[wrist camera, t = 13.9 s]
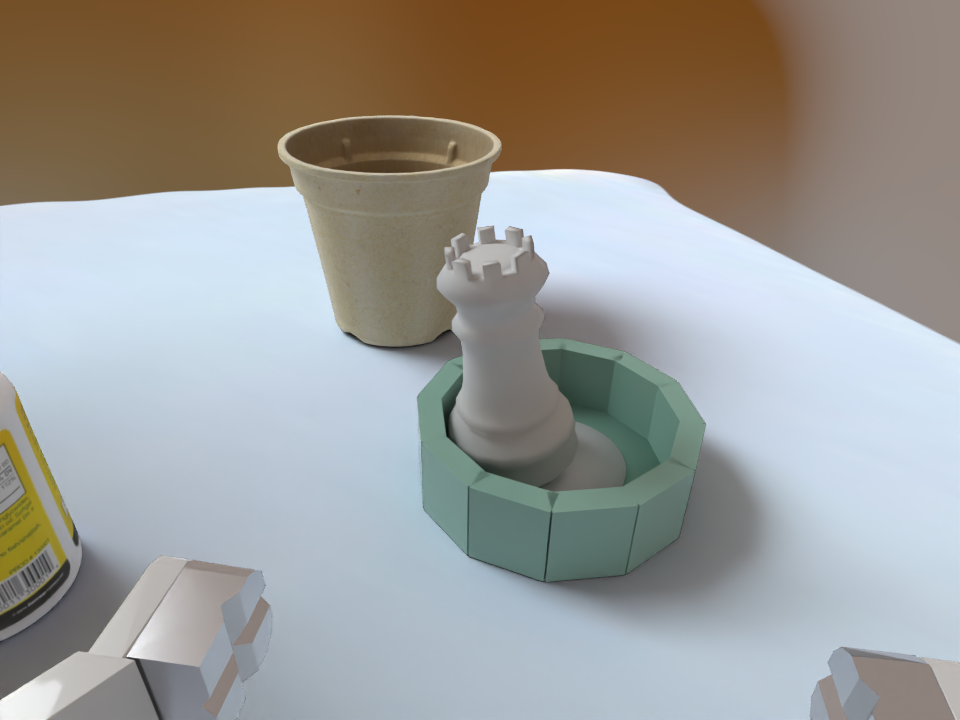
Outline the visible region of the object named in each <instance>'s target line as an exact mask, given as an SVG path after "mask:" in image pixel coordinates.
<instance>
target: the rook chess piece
mask: <svg viewBox="0 0 960 720" xmlns="http://www.w3.org/2000/svg"><path fill="white" fill-rule="evenodd" d="M477 229H478V237H479V242H478V243H475V244H472V245H469V239H468V235H466V234H464V233H461V234H459V235H457V236H456V237H454V238H452V239H451V245H452V247H444V251H445V260H446V264H445V265H444V267H443V269H442V270H441V272H440V273H439V275H438V277H437V289H438V290H439V291H440V293H441V294H442V295H443V296H444V297H445V298H446V299H448V300H449V301H450V302H451V303H452V304H454V305H455V306H456V309H457V314H456V315H455V317H454V318H453V320H452V331H453V332H454V333H455V335H456V336H457V337H458V338H459V339H460V340H461V345H462V351H463V383H462V388H461V390H460V392H459V394H458V396H457V397H456V404H455V406H454V408H453V409H452V411H451V413H450V415H449V420H448V439H450V440H451V441H452V442H453V443H454V444H455V445H456V446H457V447H459V448H460V449H461V450H462V451H463V452H464V453H465V454H466V455H467V456H469V457H470V458H471V459H472V460H473V461H474V462H475V463H476V464H478V465H479V466H480V467H481V468H482V469H483V470H484V471H485V472H487V473H491V474H494V475H498V476H501V477H504V478H508V479H511V480H514V481H518V482H521V483H525V484H528V485H531V486H535V487H538V488H540V487H542V486H544V485H547V484H549V483H551V482H552V481H553V480H554V479H556V478H557V477H558V476H559V475H560V474H561V473H562V472H563V471H564V470H565V469H566V468H567V467H568V466H569V465H570V464H571V463H572V462H573V460H574V457H575V453H576V450H577V447H578V444H579V443H578V439H577V435H576V431H575V424H576V423H575V420H574V416H573V412H572V408H571V406H570V403H569V401H568V399H567V398H566V397H565V396H564V395H563V394H562V393H561V392H560V391H559V389H558V385H557V384H556V383H555V382H554V381H553V380H552V379H551V378H550V377H549V375H548V373H547V370H546V367H545V363H544V359H543V355H542V351H541V347H540V337H539V329H540V328H541V325H542V323H543V321H544V319H545V317H544V313H543V309H542V308H541V307H540V306H538V305H537V304H536V303H535V296H536V295H537V293H538V292H539V290H540V289H541V288H542V286H543V285H544V283H545V281H546V279H547V277H548V275H549V270H548V267H547V264H546V262H545V261H544V260H543V259H542V258H540V257H539V256H538V255H537V254H536V253H535V252H534V243H533V239H532V236H527V237H524V235H523V229H519V228H515V227H511V226H509V227H508V228H507V229H506V230H505V234H506V240H496V239H495V231H494V226H487V227H480V228H477Z"/></svg>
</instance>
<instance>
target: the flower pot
mask: <svg viewBox="0 0 960 720" xmlns="http://www.w3.org/2000/svg"><path fill="white" fill-rule="evenodd" d="M278 153H279V156H280V158H281V159H282V161H283V162H284V163H286V164H287V165H288V166H290V170H291V173H292V177H293V181H294V184H295V187H296V189H297V191H298V192H299V193H300V194H301V195H303V198H304V201H305V205H306V208H307V212H308V215H309V219H310V223H311V227H312V231H313V234H314V238H315V242H316V245H317V249H318V253H319V257H320V260H321V264H322V268H323V272H324V275H325V279H326V283H327V287H328V291H329V295H330V299H331V303H332V307H333V311H334V316H335V320H336V323H337V325H338V326H339V328H340V329H341V330H342V331H343V332H350V333H352V334H353V335H355V336H356V337H358V338H359V339H360V340H362V341H363V342H364V343H367V344H372V345H378V346H387V347H398V346H413V345H420V344H425V343H429V342H431V341H433V340H434V339H435V338H436V337H437V336H439V335H440V334H441V333H443V332H444V331H446V330H452V320H453V318H454V317H455V315H456V314H457V309H456V306H455V305H454V304H452V303H451V302H450V301H449V300H448V299H446V298H445V297H444V296H443V295H442V294H441V293H440V291H439V290H438V289H437V277H438V275H439V273H440V272H441V270H442V269H443V267H444V265H445V264H446V260H445V251H444V247H452V245H451V239H452V238H454V237H456V236H457V235H459V234H461V233H464V234H466V235H468V239H469V245H472V244H473V242H474V236H475V230H476V224H477V218H478V212H479V206H480V200H481V194H482V192H483V191H484V190H485V189H486V187H487V185H488V181H489V175H490V169H491V164H492V162H494V161H495V160H496V159H497V158H498V157H499V155H500V153H501V142H500V140H499V139H498V138H497V137H496V136H495V135H494V134H493V133H491V132H489V131H486V130H484V129H482V128H480V127H477V126H474V125H471V124H467V123H463V122H458V121H452V120H447V119H437V118H431V117H419V116H364V117H351V118H342V119H336V120H330V121H326V122H320V123H315V124H311V125H308V126H304V127H301V128H299V129H296V130H294V131H292V132H289V133H287V134H286V135H284V137H283V138H281V139H280V140H279V143H278Z"/></svg>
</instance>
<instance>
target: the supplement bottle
mask: <svg viewBox="0 0 960 720" xmlns="http://www.w3.org/2000/svg"><path fill="white" fill-rule="evenodd" d="M81 559H82V545H81V541H80V538H79V535H78V532H77V530H76V528H75V525H74V523H73V521H72V519H71V517H70V514H69V512H68V510H67V508H66V505H65V503H64V501H63V499H62V496H61V494H60V492H59V490H58V487H57V485H56V483H55V480H54V478H53V476H52V474H51V471H50V469H49V467H48V465H47V462H46V460H45V458H44V456H43V453H42V451H41V449H40V447H39V444H38V442H37V440H36V437H35V435H34V433H33V430H32V428H31V426H30V423H29V421H28V419H27V416H26V414H25V411H24V409H23V406H22V404H21V402H20V399H19V397H18V394H17V392H16V390H15V387H14V386H13V384H12V383H11V382H10V381H9V380H8V378H7V377H6V376H5V375H4V374H3V373H1V372H0V641H2V640H4V639H6V638H9V637H10V636H12V635H14V634H16V633H18V632H20V631H22V630H23V629H25V628H27V627H28V626H30V625H31V624H33V623H34V622H35V621H37V620H38V619H40V618H41V617H42V616H44V615H45V614H46V613H47V612H48V611H49V610H51V609H52V608H53V607H54V606H55V605H56V604H57V603H58V602H59V601H60V599H61V598H62V597H63V596H64V595H65V593H66V592H67V591H68V589H69V588H70V587H71V585H72V583H73V582H74V580H75V578H76V576H77V573H78V571H79V568H80V564H81Z"/></svg>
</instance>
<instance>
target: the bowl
mask: <svg viewBox="0 0 960 720" xmlns="http://www.w3.org/2000/svg"><path fill="white" fill-rule="evenodd" d="M540 347H541V351H542V355H543V359H544V363H545V367H546V370H547V373H548V375H549V377H550V378H551V379H552V380H553V381H554V382H555V383H556V384H557V385H558V389H559V391H560V392H561V393H562V394H563V395H564V396H565V397H566V398H567V399H568V401H569V403H570V406H571V408H572V412H573V416H574V420H575V423H576V424H575V431H576V435H577V439H578V443H579V444H578V447H577V450H576V453H575V457H574V460H573V462H572V463H571V464H570V465H569V466H568V467H567V468H566V469H565V470H564V471H563V472H562V473H561V474H560V475H559V476H558V477H557V478H556V479H554V480H553V481H552V482H551V483H549V484H547V485H544V486H542V487H540V488H538V487H535V486H531V485H528V484H525V483H521V482H518V481H514V480H511V479H508V478H504V477H501V476H498V475H494V474H491V473H487V472H485V471H484V470H483V469H482V468H481V467H480V466H479V465H478V464H476V463H475V462H474V461H473V460H472V459H471V458H470V457H469V456H467V455H466V454H465V453H464V452H463V451H462V450H461V449H460V448H459V447H457V446H456V445H455V444H454V443H453V442H452V441H451V440H450V439H448V420H449V415H450V413H451V411H452V409H453V408H454V406H455V404H456V397H457V396H458V394H459V392H460V390H461V388H462V383H463V355H462V356H460V357H457V358H454V359H452V360H449V362H447V363H446V364H445V365H444V366H443V367H442V368H441V370H440V371H439V372H438V373H437V374H436V375H435V376H434V378H433V379H432V380H431V381H430V382H429V383H428V384H427V386H426V387H425V388H424V389H423V390H422V391H421V392H420V394H419V395H418V397H417V407H418V433H419V458H420V473H421V486H422V499H423V508H424V510H425V511H426V512H427V513H428V514H429V515H430V517H431V518H432V519H433V520H434V521H435V522H436V523H437V524H438V525H439V526H440V527H441V528H442V529H443V530H444V531H445V532H446V534H447V535H448V536H449V537H450V538H451V539H452V540H453V541H454V542H455V543H456V544H457V545H458V546H459V547H460V548H461V549H462V550H463V552H464V553H465V554H466V555H468V556H470V557H472V558H475V559H478V560H481V561H484V562H487V563H490V564H493V565H496V566H499V567H502V568H505V569H507V570H510V571H513V572H516V573H519V574H522V575H525V576H528V577H531V578H534V579H537V580H540V581H544V579H545V582H552V581H563V580H574V579H584V578H595V577H606V576H617V575H625V573H626V574H627V573H629V572H630V571H632V570H633V569H635V568H636V567H638V566H639V565H640V564H642V563H643V562H645V561H646V560H648V559H649V558H650V557H652V556H653V555H655V554H656V553H658V552H659V551H661V550H662V549H663V548H665V547H666V546H668V545H669V544H671V543H672V542H674V541H675V540H676V539H678V537H679V535H680V531H681V527H682V523H683V519H684V515H685V511H686V507H687V503H688V499H689V495H690V491H691V487H692V483H693V479H694V475H695V471H696V467H697V462H698V458H699V453H700V449H701V444H702V440H703V435H704V431H705V426H706V423H705V422H704V420H703V418H702V417H701V415H700V414H699V412H698V411H697V409H696V408H695V406H694V405H693V403H692V402H691V400H690V399H689V397H688V396H687V394H686V393H685V391H684V390H683V388H682V387H681V385H680V384H679V382H677V381H676V380H675V379H673V378H671V377H669V376H667V375H666V374H664V373H662V372H660V371H659V370H657V369H655V368H653V367H652V366H650V365H648V364H646V363H645V362H643V361H641V360H639V359H638V358H636V357H634V356H632V355H631V354H629V353H627V352H625V351H620V350H616V349H611V348H606V347H602V346H597V345H593V344H588V343H584V342H579V341H574V340H570V339H565V338H564V339H562V338H553V339H540Z"/></svg>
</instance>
